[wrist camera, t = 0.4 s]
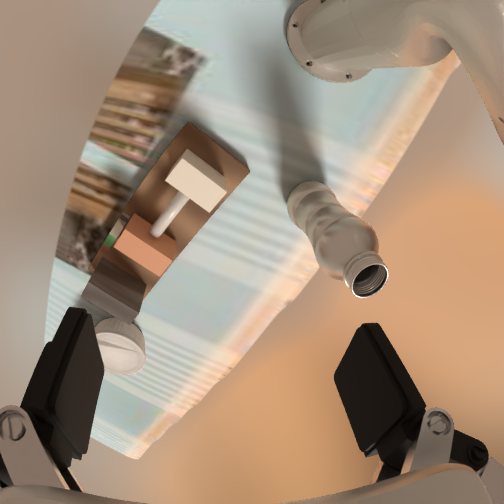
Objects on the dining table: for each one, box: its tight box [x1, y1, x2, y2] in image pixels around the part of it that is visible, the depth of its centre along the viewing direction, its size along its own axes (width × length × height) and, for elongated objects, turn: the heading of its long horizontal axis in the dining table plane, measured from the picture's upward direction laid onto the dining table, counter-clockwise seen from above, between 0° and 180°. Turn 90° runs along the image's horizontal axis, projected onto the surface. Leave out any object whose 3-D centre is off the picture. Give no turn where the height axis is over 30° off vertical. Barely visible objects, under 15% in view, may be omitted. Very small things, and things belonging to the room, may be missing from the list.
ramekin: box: [95, 318, 146, 375], centre depth 48 cm, size 11×11×5 cm
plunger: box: [149, 149, 227, 238], centre depth 34 cm, size 10×6×6 cm, turn 138°
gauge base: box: [81, 122, 250, 325], centre depth 37 cm, size 26×10×8 cm, turn 138°
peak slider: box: [114, 213, 177, 277], centre depth 37 cm, size 3×8×5 cm, turn 48°
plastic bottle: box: [287, 181, 389, 298], centre depth 33 cm, size 6×7×20 cm
